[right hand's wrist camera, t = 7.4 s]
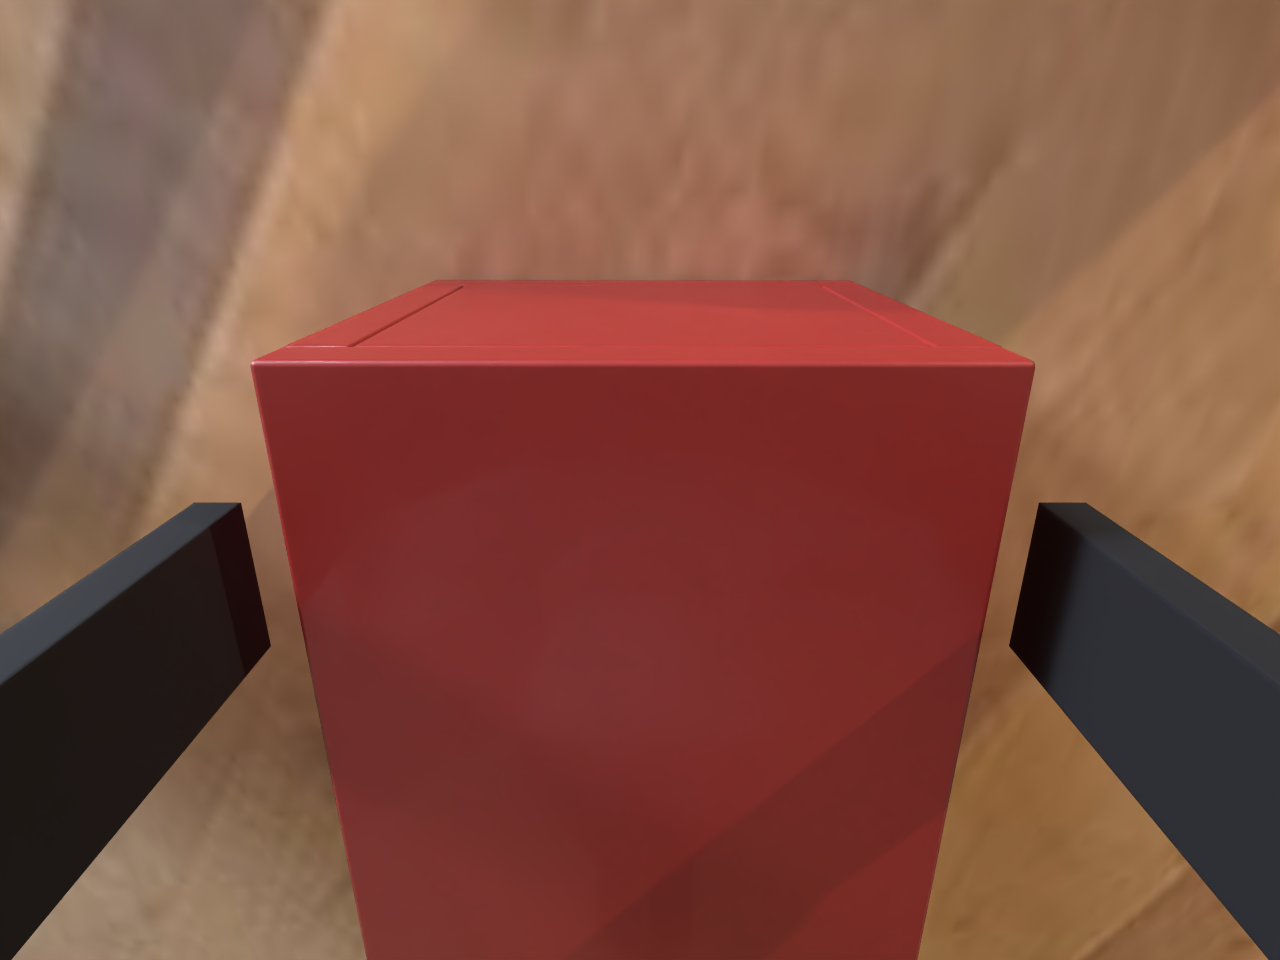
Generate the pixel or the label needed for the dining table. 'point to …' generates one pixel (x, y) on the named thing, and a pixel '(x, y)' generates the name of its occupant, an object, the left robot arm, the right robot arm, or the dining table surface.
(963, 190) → the dining table surface
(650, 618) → the cabinet
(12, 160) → the dining table surface
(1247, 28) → the dining table surface
